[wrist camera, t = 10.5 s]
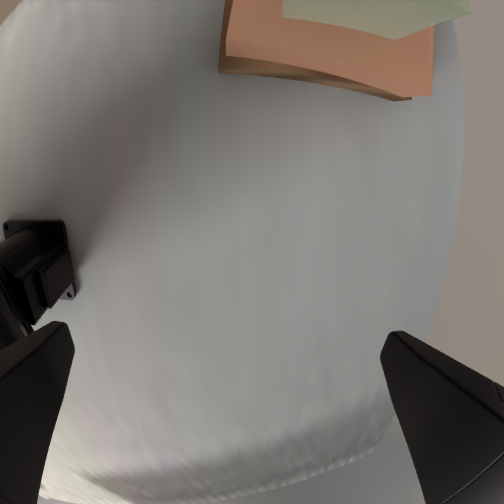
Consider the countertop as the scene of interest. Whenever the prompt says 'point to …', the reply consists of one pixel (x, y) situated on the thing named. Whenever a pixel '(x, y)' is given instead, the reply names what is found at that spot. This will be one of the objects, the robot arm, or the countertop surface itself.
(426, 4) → the sage green brick
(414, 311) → the countertop surface
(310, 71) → the walnut base brick
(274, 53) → the terracotta top brick
